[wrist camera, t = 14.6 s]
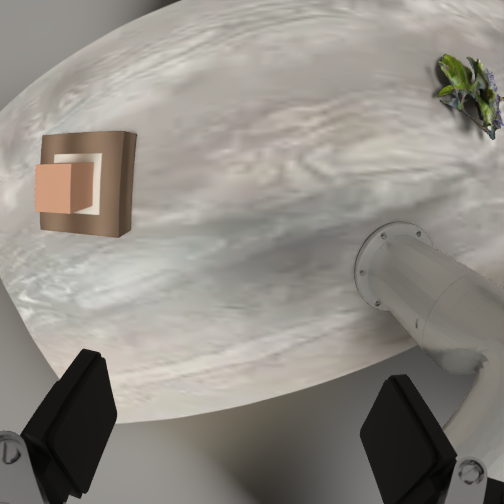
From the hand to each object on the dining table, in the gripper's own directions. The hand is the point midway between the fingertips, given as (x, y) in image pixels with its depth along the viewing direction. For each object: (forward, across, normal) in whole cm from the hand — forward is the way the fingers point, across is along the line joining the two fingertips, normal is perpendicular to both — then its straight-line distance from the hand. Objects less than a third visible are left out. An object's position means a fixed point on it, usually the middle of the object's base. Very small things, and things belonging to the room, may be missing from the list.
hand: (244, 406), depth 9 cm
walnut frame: (+28, +20, -4) cm, 35 cm away
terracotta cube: (+24, +20, -4) cm, 32 cm away
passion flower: (+29, -28, -23) cm, 46 cm away
